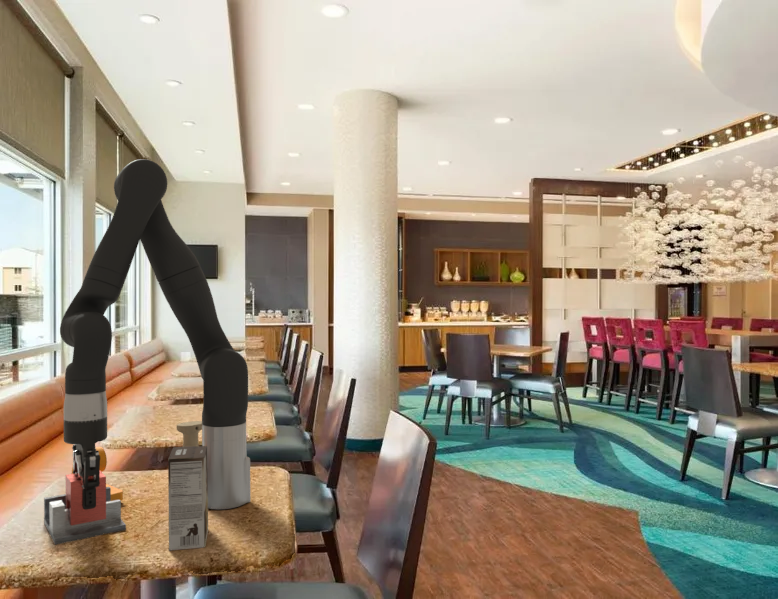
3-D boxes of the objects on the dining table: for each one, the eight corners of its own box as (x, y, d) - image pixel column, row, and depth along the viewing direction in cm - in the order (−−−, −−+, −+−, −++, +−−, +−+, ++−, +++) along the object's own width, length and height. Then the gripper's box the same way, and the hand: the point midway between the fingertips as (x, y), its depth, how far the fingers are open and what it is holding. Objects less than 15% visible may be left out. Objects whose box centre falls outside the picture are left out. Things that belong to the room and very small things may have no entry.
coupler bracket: (109, 510, 129) (109, 481, 129) (125, 529, 118) (125, 498, 118) (44, 522, 122) (43, 492, 122) (54, 544, 111) (54, 511, 111)
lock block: (99, 510, 122) (99, 469, 122) (106, 518, 117) (105, 476, 117) (65, 516, 119) (65, 474, 119) (70, 525, 114) (70, 482, 114)
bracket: (124, 503, 134) (124, 448, 134) (90, 512, 128) (90, 454, 128) (102, 494, 141) (101, 441, 141) (69, 502, 135) (68, 447, 135)
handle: (173, 489, 144) (172, 424, 144) (196, 482, 149) (196, 420, 149) (185, 492, 141) (184, 426, 141) (209, 486, 146) (208, 422, 146)
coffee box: (173, 532, 116) (172, 446, 116) (209, 529, 118) (208, 444, 118) (167, 551, 107) (166, 458, 107) (206, 547, 109) (205, 455, 109)
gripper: (115, 419, 115) (115, 510, 114) (99, 408, 126) (99, 491, 126) (70, 424, 110) (70, 518, 110) (58, 412, 122) (58, 498, 122)
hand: (85, 503), depth 118 cm, fingers closed on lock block, 6 cm apart
